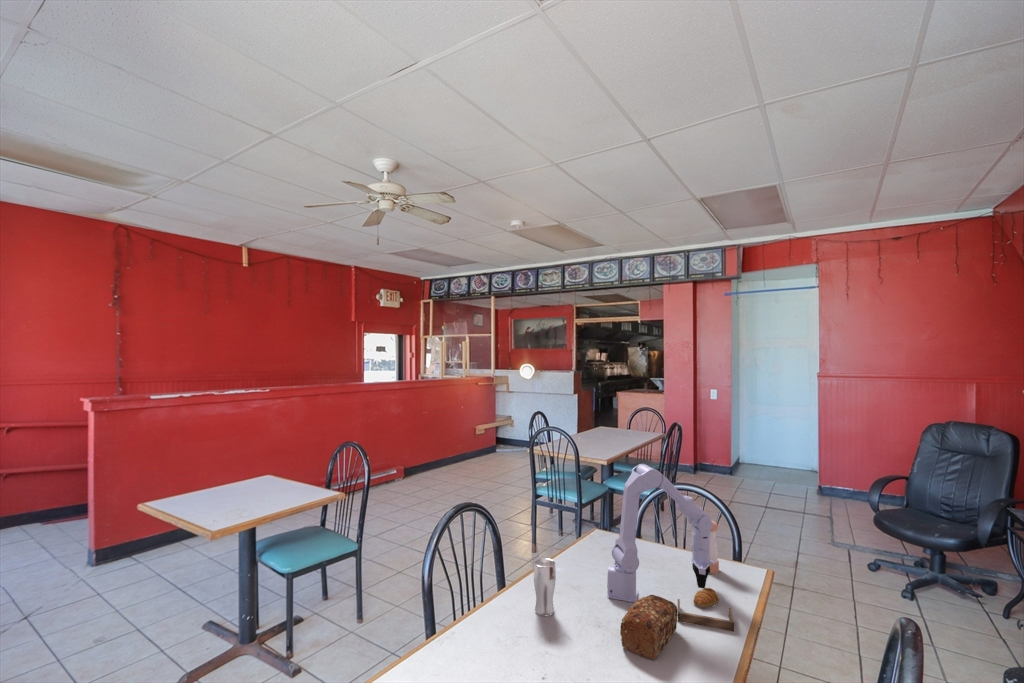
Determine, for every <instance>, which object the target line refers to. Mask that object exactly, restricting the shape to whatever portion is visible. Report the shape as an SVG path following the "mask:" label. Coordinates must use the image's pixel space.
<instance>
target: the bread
mask: <svg viewBox="0 0 1024 683" xmlns="http://www.w3.org/2000/svg"><path fill="white" fill-rule="evenodd" d="M677 624H678V605H676V604H675V603H674V602H673V601H671V600H668V599H666V598H664V597H662V596H660V595H654V594H649V595H647V596H642V597H641V598H639V599H637V601H636V602H633V604H632V606H631V607H628V609H627V612H626V613H625V615H624V616H623V617H622V619H621V623H620V630H619V631H620V637H621V640H620V641H621V646H622V648H624V649H625V650H626V651H628V652H631V653H633V654H636V655H638V656H640V657H643V658H645V659H647V660H651V661H652V660H653V661H654V660H655V659H657V657H658V655H659V654H661V652H662V651H663V650H664V649H665V648H666V647H667V645H668V644H669V642H670V640H671V639H672V637H673V636H674V634H675V632H676V630H677Z"/></svg>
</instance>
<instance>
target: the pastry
mask: <svg viewBox="0 0 1024 683" xmlns="http://www.w3.org/2000/svg"><path fill="white" fill-rule="evenodd" d="M720 601H721V599H720V597H719V594H718V593H717V591H716V590H714V589H713V588H710V587H708V588H707V587H705V588H701V589H700V590H698V591H697V592H696V593H695V595H694V597H693V604H694V606H695V607H699V608H701V609H708V608H713V607H715V606H717V605H718V604H719V603H720ZM716 604H717V605H716ZM714 605H715V606H714Z"/></svg>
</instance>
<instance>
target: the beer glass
mask: <svg viewBox="0 0 1024 683" xmlns="http://www.w3.org/2000/svg"><path fill="white" fill-rule="evenodd" d="M556 576H557V575H556V561H555V560H554V559H551V558H543V557H541V558H537V559H535V560H534V566H533V584H534V592H535V606H534V612H535V611H536V612H535V613H536V614H537V613H538V614H540V615H539V616H541V615H549V616H551V615H550V614H552V613H553V612H554V613H555V607H554V594H555V593H554V592H555V589H556V588H555V587H556V581H557V578H556ZM554 613H553V614H554ZM538 614H537V615H538ZM553 614H552V615H553Z"/></svg>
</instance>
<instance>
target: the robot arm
mask: <svg viewBox="0 0 1024 683" xmlns="http://www.w3.org/2000/svg"><path fill="white" fill-rule="evenodd" d="M656 488H658V489H660V490H663V491H664V492H665V493H666V494H667V495H668V496H669V497H670V498H671V499H672V500H674V502H675V507H676V509H677V510H678V511H679V512H680V513H681V514H682V515H683V516H684V517H685V518H686V519H687V520H688V522H689V524H691V549H692V550H691V562H692V563H691V564H692V571H693V572H694V575H695V579H696V584H697V588H700V589H704V588H706V585H707V579H708V576H709V574H711V573H710V566H709V565H714V562H713V561H712V560H710V531H711V529H712V527H713V522H712V521H713V520H712V518H711V516H710V515H708V514H707V513H705V512H704V509H703V508H702V507H699V505H697V503H696V502H695V499H694V498H693V497H692V496H689V495H683V494H682V493H681V492H680V491H679V489H678V488H676V486H675V485H674V484H673V483H672V482H671V481H670V480H669V479H668V478H667V477H666V476H665V475H664V474H662V473H661V472H660V471H659V470H658V469H656V468H653V467H650V466H649V465H647V464H646V463H639V464H637V465H636V466H634V467H633V468H632V469H631V474H630V476H629V477H628V478H627V480H626V482H625V484H624V487H623V494H622V495H623V496H622V504H621V505H622V506H621V514H620V515H621V516H620V517H621V518H620V525H619V527H620V528H619V537H618V538H617V539H615V543H614V546H613V548H612V550H611V556H612V559H613V560H614V565H608V568H607V586H606V587H607V599H613V600H619V601H624V602H628V603H629V602H630V603H635V602H636V601H637V600H638V596H639V590H638V589H637V570H638V568H639V566H640V560H639V557H638V551H639V550H638V547H637V544H636V539H637V538H636V537H637V527H638V516H639V506H640V496H641V495H642V494H644V493H645V492H647V491H650V490H654V489H656ZM711 520H712V521H711Z"/></svg>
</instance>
